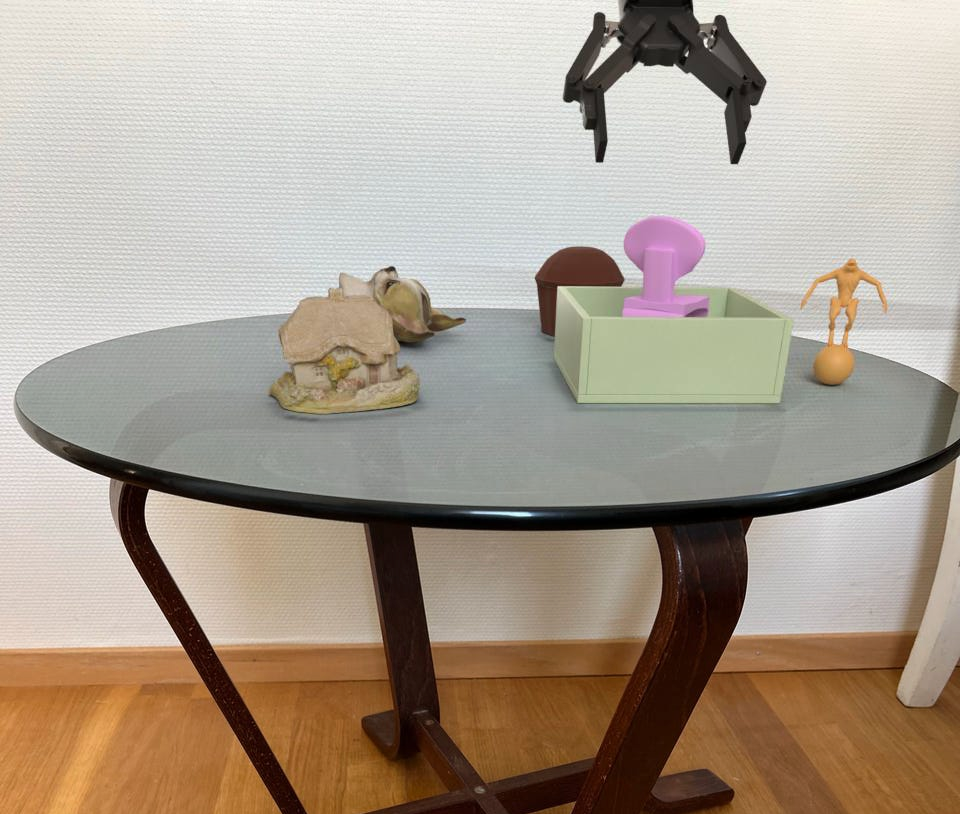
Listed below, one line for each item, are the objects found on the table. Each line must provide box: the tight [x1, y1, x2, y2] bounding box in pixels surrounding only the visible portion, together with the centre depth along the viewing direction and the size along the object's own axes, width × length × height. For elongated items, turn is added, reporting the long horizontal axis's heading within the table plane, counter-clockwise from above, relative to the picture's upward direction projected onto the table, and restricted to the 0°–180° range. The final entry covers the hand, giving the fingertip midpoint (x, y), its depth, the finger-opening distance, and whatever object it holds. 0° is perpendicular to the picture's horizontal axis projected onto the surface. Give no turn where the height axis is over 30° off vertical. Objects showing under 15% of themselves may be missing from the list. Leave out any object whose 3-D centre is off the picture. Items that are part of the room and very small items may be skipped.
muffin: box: [534, 245, 625, 337], centre depth 118 cm, size 12×11×10 cm
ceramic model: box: [268, 286, 421, 415], centre depth 87 cm, size 14×11×10 cm
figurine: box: [800, 257, 888, 386], centre depth 95 cm, size 8×6×12 cm
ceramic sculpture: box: [338, 265, 467, 343], centre depth 112 cm, size 11×9×15 cm
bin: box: [553, 286, 795, 405], centre depth 96 cm, size 20×20×8 cm
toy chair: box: [622, 215, 709, 317], centre depth 93 cm, size 8×9×15 cm
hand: (670, 153), depth 92 cm, fingers open, 13 cm apart
